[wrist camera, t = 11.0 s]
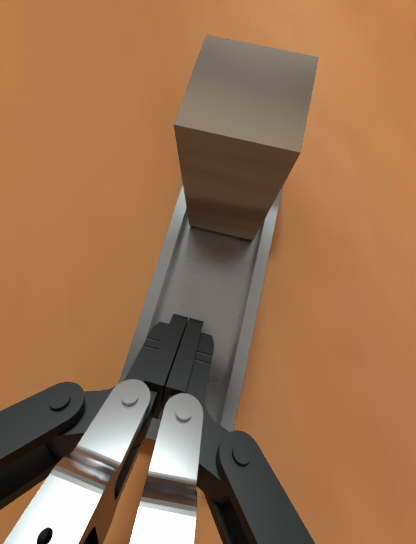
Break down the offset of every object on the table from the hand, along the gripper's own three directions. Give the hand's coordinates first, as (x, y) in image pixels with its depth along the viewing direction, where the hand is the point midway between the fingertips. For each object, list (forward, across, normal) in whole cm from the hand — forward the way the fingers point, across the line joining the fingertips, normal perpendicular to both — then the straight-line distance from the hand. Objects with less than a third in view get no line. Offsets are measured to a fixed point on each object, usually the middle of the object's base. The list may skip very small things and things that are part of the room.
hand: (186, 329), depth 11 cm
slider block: (+10, 0, -4) cm, 11 cm away
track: (+7, 0, +2) cm, 7 cm away
